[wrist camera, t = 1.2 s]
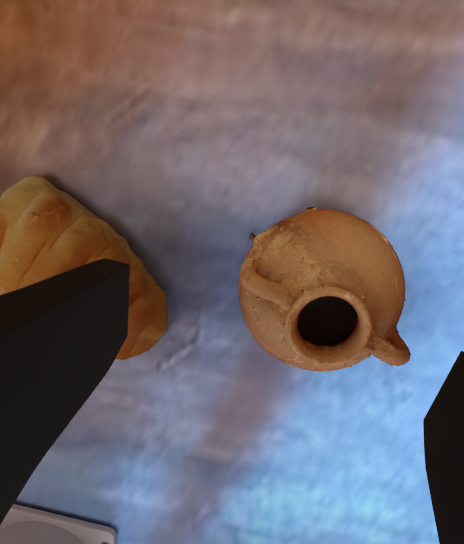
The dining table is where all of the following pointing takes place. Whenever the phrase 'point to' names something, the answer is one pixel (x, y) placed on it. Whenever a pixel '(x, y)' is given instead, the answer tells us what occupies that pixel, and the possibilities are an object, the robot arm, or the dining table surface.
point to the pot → (324, 292)
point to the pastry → (72, 253)
